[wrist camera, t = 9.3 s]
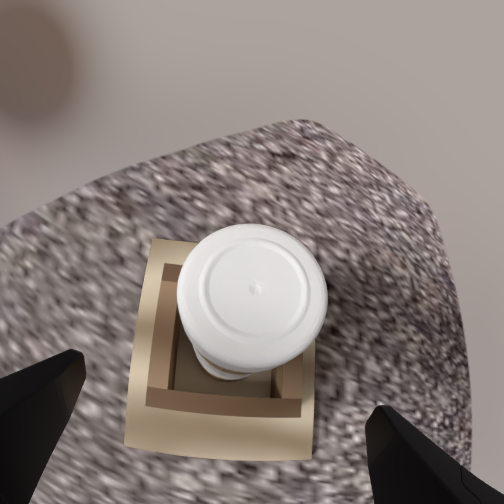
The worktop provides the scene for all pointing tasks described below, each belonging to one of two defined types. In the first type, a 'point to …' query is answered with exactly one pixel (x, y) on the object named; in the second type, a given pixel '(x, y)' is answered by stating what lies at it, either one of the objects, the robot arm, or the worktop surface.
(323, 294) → the sprinkles bottle
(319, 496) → the worktop surface
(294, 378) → the bottle stand
